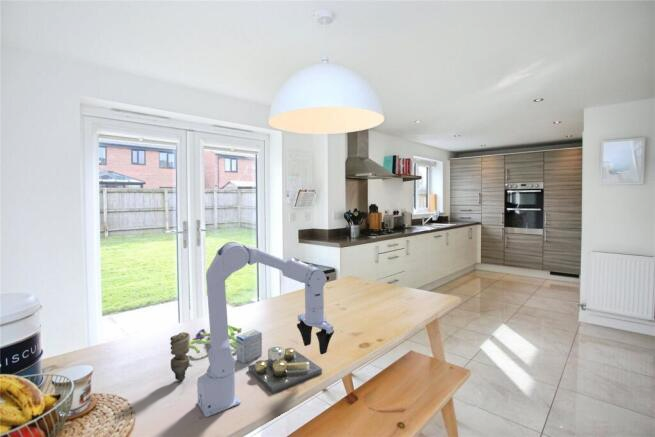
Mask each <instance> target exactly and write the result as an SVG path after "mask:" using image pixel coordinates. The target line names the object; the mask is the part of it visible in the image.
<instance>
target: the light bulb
mask: <svg viewBox="0 0 655 437" xmlns="http://www.w3.org/2000/svg"><path fill="white" fill-rule="evenodd" d="M190 338H191V335H190V333H188V332H184V331H183V332H180V333H178V334H175V335H173V336H171V337H170V343H169V344H170V354H171V355H172V356H173V357H172V358H171V359H170V370H171V371H172V372H173V374H174V377H175V378H174V379H175V380H176V381H179V382H182V381H183V380H185V379H186V371H187V370H188V368H189V367H190V366H189V365H190V356H189V355H187V354H188V353H189V352H190V348H189V346H190V344H189V342H191V339H190Z"/></svg>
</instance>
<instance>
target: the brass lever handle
mask: <svg viewBox="0 0 655 437" xmlns="http://www.w3.org/2000/svg"><path fill="white" fill-rule="evenodd" d="M306 369H309V362H300V363H287V362H286V361H285V360H277V361H274V362H273V374H274V375H276V376H281V375H284V374H286V373H287V371H292V370H306Z"/></svg>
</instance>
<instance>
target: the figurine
mask: <svg viewBox="0 0 655 437" xmlns="http://www.w3.org/2000/svg"><path fill="white" fill-rule="evenodd" d="M235 331H237V332H241V331H242V327H239V328H238V327H236V326H233V325H231V324H228V336H229V340H230V339H231V341H229V343H230V348H233V349H234V350H236V351H237V346H236V337H235V335H236V334H237V333H236V332H235ZM195 337H196V339H192V340H190V342H189V344H190V346H189V349H192V350H194V351H196V354H200V352H201V350H200V348H199V347H198V346H197V345H194V344H198V343H199V344H204V345H210V339H209V340H203V337H210V332H206V330H205V329H204V328H202V329H200V330H199V331H198V332H197V333H196V334H195ZM200 339H201V340H200Z"/></svg>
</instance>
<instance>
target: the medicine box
mask: <svg viewBox="0 0 655 437" xmlns="http://www.w3.org/2000/svg"><path fill="white" fill-rule="evenodd" d="M262 336H263V334H262V332H261V331H260V330H256V329H252V330H248V331H246V332H242V333H241V334H239V335H236V337H235V338H236V346H237V350H236V360H237V361H238V362H241V363H242V364H246V363H248V362H249V361H252V360H254V359H256V358H258V357H260V356H262V354H263V352H262V351H263V348H262V346H263V342H262V341H263V337H262Z"/></svg>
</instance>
